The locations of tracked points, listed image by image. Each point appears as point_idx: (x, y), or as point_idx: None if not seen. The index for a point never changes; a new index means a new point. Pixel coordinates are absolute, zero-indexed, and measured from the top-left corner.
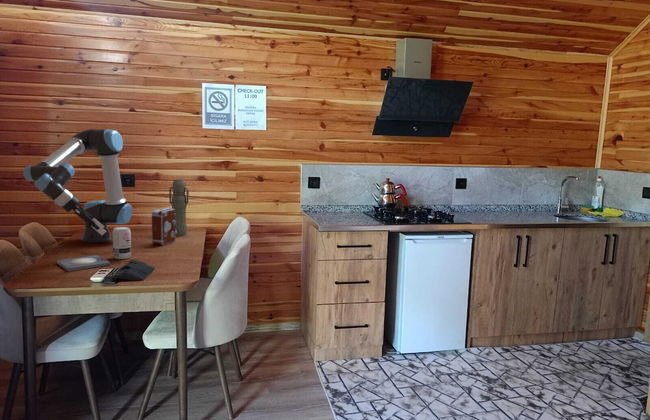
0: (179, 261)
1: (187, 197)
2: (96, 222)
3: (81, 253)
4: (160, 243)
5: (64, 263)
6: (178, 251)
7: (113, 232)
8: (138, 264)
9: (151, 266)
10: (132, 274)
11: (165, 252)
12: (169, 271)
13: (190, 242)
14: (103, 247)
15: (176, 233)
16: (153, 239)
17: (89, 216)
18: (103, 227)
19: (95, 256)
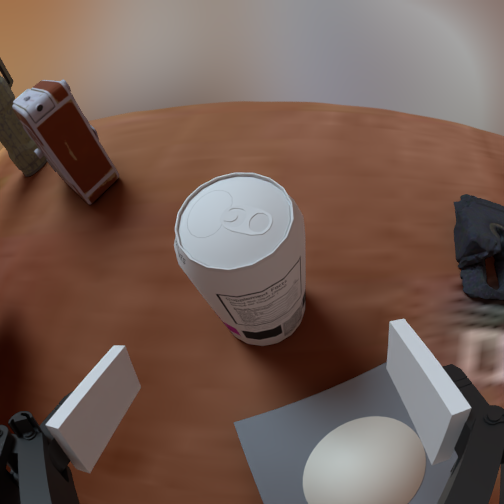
0: (370, 135)
1: (6, 70)
2: (94, 410)
3: (114, 472)
4: (113, 179)
5: None
6: (225, 136)
7: (266, 285)
8: (499, 225)
9: (471, 197)
10: None
11: (224, 164)
12: (479, 167)
13: (124, 126)
14: (46, 370)
15: (39, 161)
16: (87, 190)
17: (56, 486)
18: (127, 356)
19: (265, 430)
